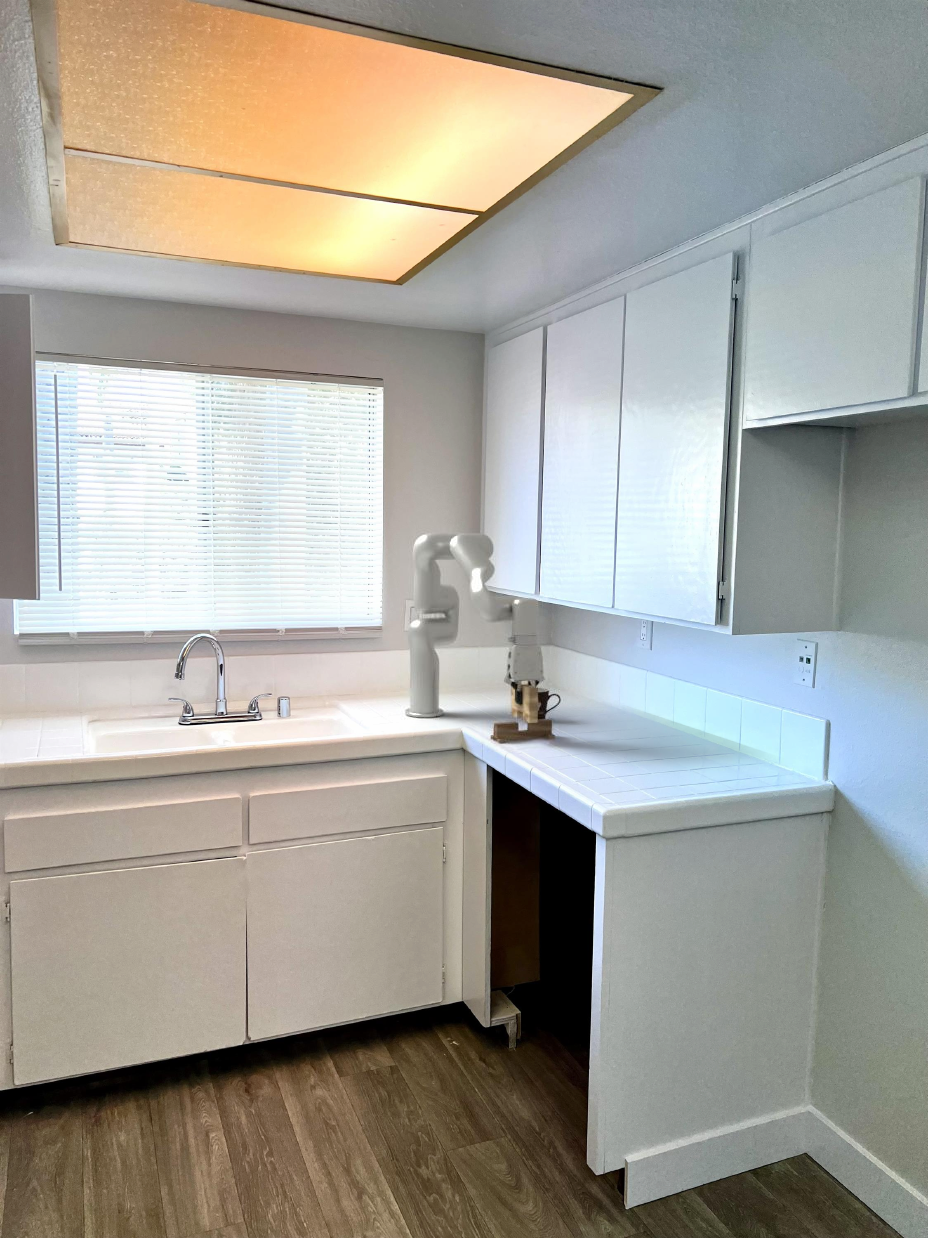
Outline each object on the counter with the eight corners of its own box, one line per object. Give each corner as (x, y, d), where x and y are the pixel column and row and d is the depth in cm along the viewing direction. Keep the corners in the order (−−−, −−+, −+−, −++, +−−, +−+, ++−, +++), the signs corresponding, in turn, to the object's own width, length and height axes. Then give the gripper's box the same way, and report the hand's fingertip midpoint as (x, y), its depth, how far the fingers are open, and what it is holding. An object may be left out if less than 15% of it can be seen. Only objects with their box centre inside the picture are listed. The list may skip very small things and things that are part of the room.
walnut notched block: (490, 738, 265) (490, 721, 264) (545, 734, 272) (545, 717, 271) (499, 743, 259) (499, 726, 259) (554, 738, 266) (555, 721, 266)
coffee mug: (517, 721, 289) (517, 690, 288) (528, 716, 296) (528, 686, 295) (551, 725, 283) (551, 694, 282) (561, 720, 291) (562, 689, 290)
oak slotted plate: (510, 715, 270) (511, 682, 269) (518, 714, 271) (519, 681, 270) (529, 723, 259) (529, 688, 258) (537, 722, 260) (537, 688, 259)
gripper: (505, 643, 256) (504, 707, 258) (555, 641, 262) (554, 704, 264) (494, 640, 263) (493, 703, 265) (543, 638, 269) (542, 699, 271)
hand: (524, 703), depth 264 cm, fingers closed on oak slotted plate, 2 cm apart
